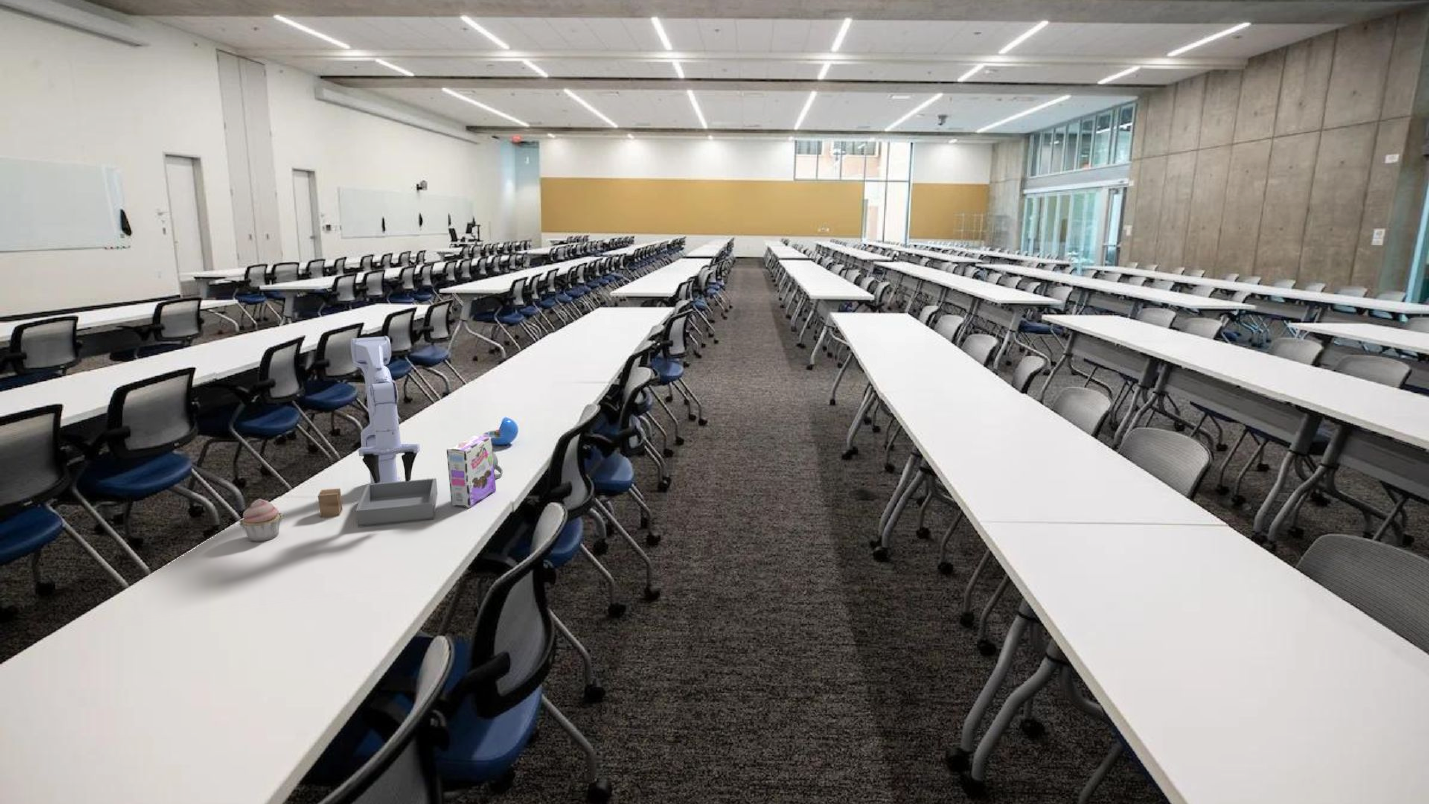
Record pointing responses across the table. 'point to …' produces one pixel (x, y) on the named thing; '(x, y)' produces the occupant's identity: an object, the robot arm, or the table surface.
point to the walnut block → (330, 502)
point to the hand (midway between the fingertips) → (392, 481)
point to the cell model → (504, 432)
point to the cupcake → (261, 521)
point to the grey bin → (397, 502)
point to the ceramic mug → (497, 466)
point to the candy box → (471, 471)
